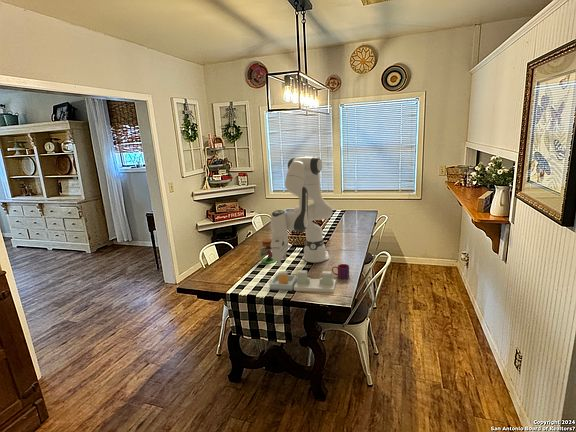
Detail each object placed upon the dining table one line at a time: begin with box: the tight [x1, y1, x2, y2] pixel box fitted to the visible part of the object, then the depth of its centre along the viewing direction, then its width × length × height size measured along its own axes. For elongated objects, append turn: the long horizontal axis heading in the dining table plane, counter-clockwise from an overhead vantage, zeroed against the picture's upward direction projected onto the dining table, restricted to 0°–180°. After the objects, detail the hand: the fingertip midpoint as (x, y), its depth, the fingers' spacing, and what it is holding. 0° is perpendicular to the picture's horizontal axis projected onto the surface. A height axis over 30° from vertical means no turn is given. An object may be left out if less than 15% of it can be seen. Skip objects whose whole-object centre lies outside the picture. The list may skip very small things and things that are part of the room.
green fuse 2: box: [321, 270, 333, 285], centre depth 179 cm, size 3×5×7 cm, turn 76°
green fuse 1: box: [297, 269, 308, 284], centre depth 183 cm, size 3×5×7 cm, turn 76°
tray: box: [269, 274, 298, 292], centre depth 187 cm, size 13×13×4 cm
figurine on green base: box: [259, 238, 277, 264], centre depth 225 cm, size 12×13×15 cm
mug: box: [331, 263, 350, 280], centre depth 192 cm, size 7×10×7 cm
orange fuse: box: [277, 270, 289, 284], centre depth 186 cm, size 3×5×7 cm, turn 76°
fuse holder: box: [293, 276, 337, 293], centre depth 182 cm, size 12×22×5 cm, turn 76°
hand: (282, 262), depth 184 cm, fingers open, 8 cm apart
